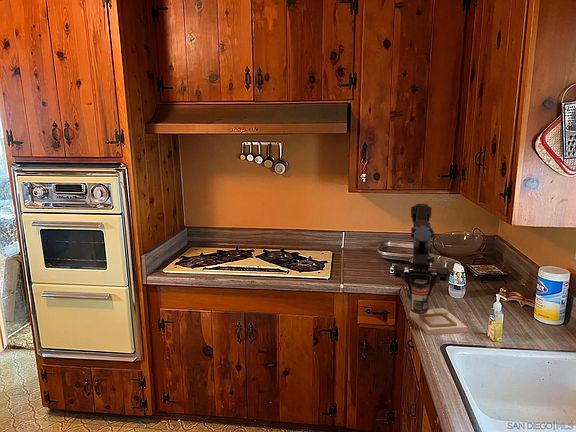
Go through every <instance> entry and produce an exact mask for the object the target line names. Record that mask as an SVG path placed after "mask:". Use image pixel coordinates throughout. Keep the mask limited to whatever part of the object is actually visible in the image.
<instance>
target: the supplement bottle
mask: <svg viewBox="0 0 576 432" xmlns="http://www.w3.org/2000/svg"><path fill="white" fill-rule="evenodd" d="M429 297H430V296H429V287H428V285H426V281H425V280H422V279H416V280H415V281H414V285H413V286H412V287H411V297H410V304H409V305H410V310H409V311H412V312H413V313H416V314H425V313H427V312H428V310H429Z"/></svg>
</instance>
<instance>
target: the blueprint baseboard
mask: <svg viewBox="0 0 576 432" xmlns="http://www.w3.org/2000/svg"><path fill="white" fill-rule="evenodd" d="M409 317H410V318H411V320H413V321H414V322H415V323H416V324H417V325H418V326H419V328H421V330H423V331H424V332H425V333H426V334H427V336H433V335H435V336H436V335H446V334H461V333H462V334H464V333H467V332H468V326H467V325H466V324H465V323H463V322H462V321H460V320H459V319H458V318H457V317H456V316H455V315H453V314H452V313H451V312H450V311H448V310H447V308H443V307H442V308H433V309H428V312H427V313H425V314H416V313H413V312H412V311H411V310H409Z"/></svg>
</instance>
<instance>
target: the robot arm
mask: <svg viewBox="0 0 576 432" xmlns="http://www.w3.org/2000/svg"><path fill="white" fill-rule="evenodd" d="M432 211H433V210H432V207H431V206H429V204H427V203H416V204H415V205H413V206H411V207H410V218H412V221H411V222H412V225H413V226H412V227H411V228H410V229H411V233H410V237H411V238H412V240H413V246H412V247H413V248H412V249H413V250H412V262H411V264H410V268H409V267H406V265H405V264H398V263H396V264H394V265H393V268H392V269H393V270H392V271H393V277H394V278H399V279H401V280H402V281H404V283H405V285H406V286H407V290H408V293H407V296H409V298H411V287H412V286H413V285H414V281H415V280H416V279H422V280H425V281H426V286H429V287H428V289H429V296H428V297H430V296H431V294H432V292H433V289H434V288H435V286H436V284H437V283H438V284H439V283H441V282H448V281H449V277H450V269H449V268H448V267H439V266H437V267H436V270H430V267H431V265H430V264H435V255H436V254H435V253H430V245H431V242H432V241H431V240H432V239H433V238H434V237H435V231H434V229H433V227H432V226H431V222H430V219H431V218H432ZM431 227H432V228H431Z"/></svg>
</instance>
